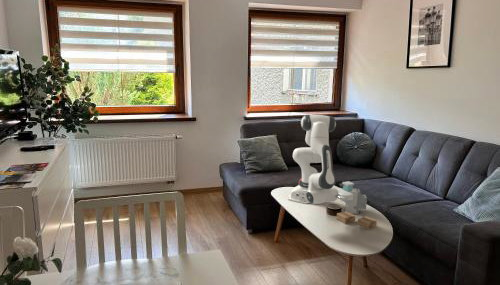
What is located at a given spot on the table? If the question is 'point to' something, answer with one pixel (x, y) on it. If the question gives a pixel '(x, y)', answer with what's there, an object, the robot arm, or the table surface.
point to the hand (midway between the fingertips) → (348, 191)
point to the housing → (348, 188)
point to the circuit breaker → (356, 202)
